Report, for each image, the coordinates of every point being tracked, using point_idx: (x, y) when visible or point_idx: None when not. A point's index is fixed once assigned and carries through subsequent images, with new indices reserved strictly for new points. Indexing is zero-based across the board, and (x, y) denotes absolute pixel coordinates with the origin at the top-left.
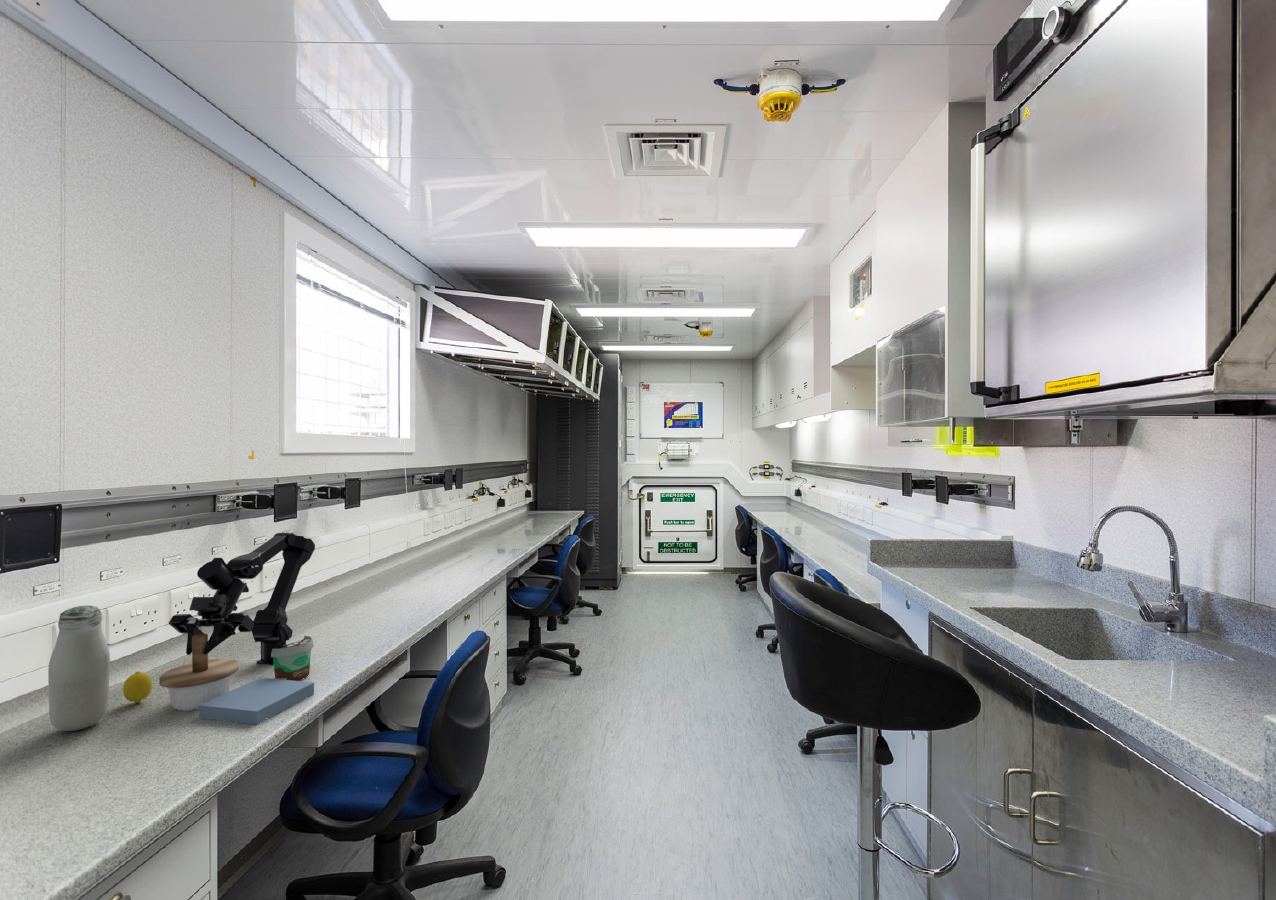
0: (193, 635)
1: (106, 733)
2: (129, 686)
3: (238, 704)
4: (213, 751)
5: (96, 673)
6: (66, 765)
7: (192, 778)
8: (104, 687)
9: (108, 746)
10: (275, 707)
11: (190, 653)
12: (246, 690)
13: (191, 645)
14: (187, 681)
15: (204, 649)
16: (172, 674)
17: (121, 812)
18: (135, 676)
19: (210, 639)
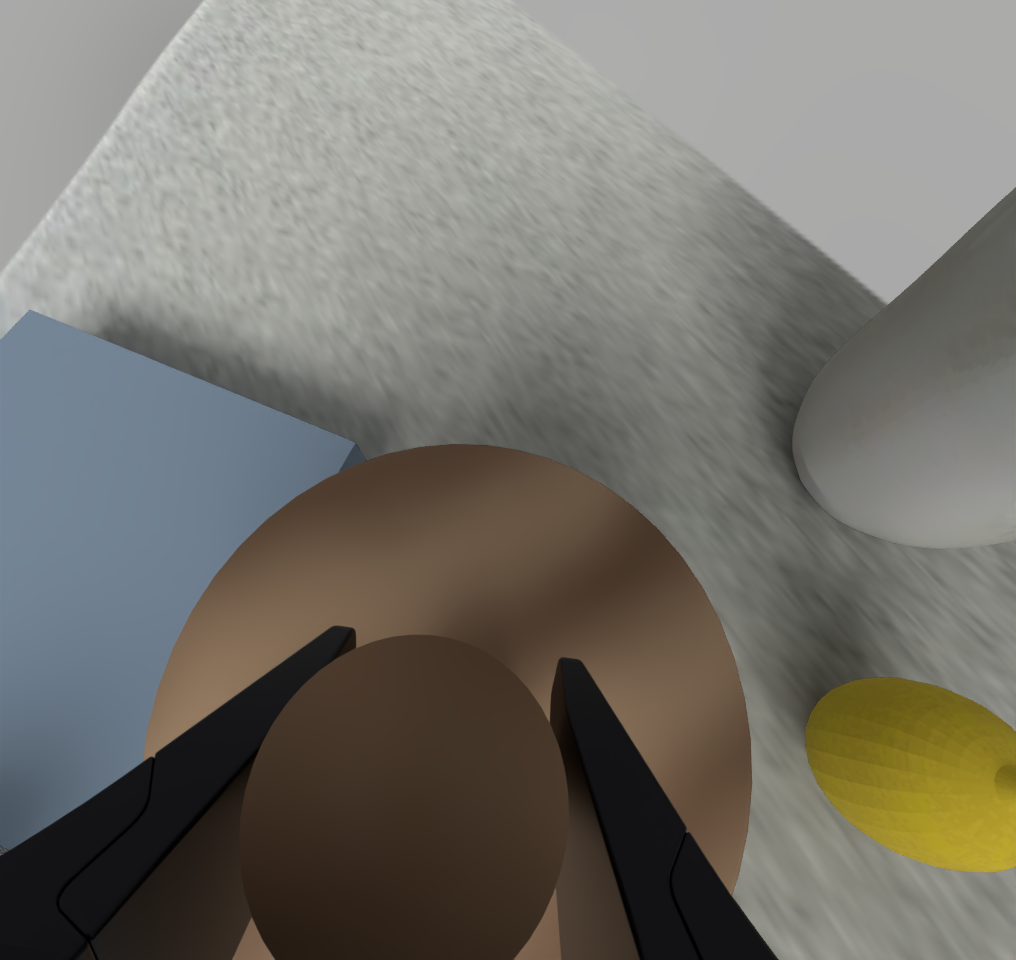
0: (629, 952)
1: (685, 396)
2: (922, 683)
3: (141, 407)
4: (195, 192)
5: (998, 225)
6: (626, 205)
7: (204, 80)
8: (902, 384)
9: (589, 293)
10: None
11: (551, 716)
12: (142, 610)
13: (571, 768)
14: (428, 457)
15: (333, 649)
16: (643, 642)
17: (313, 3)
18: (976, 735)
19: (206, 760)
